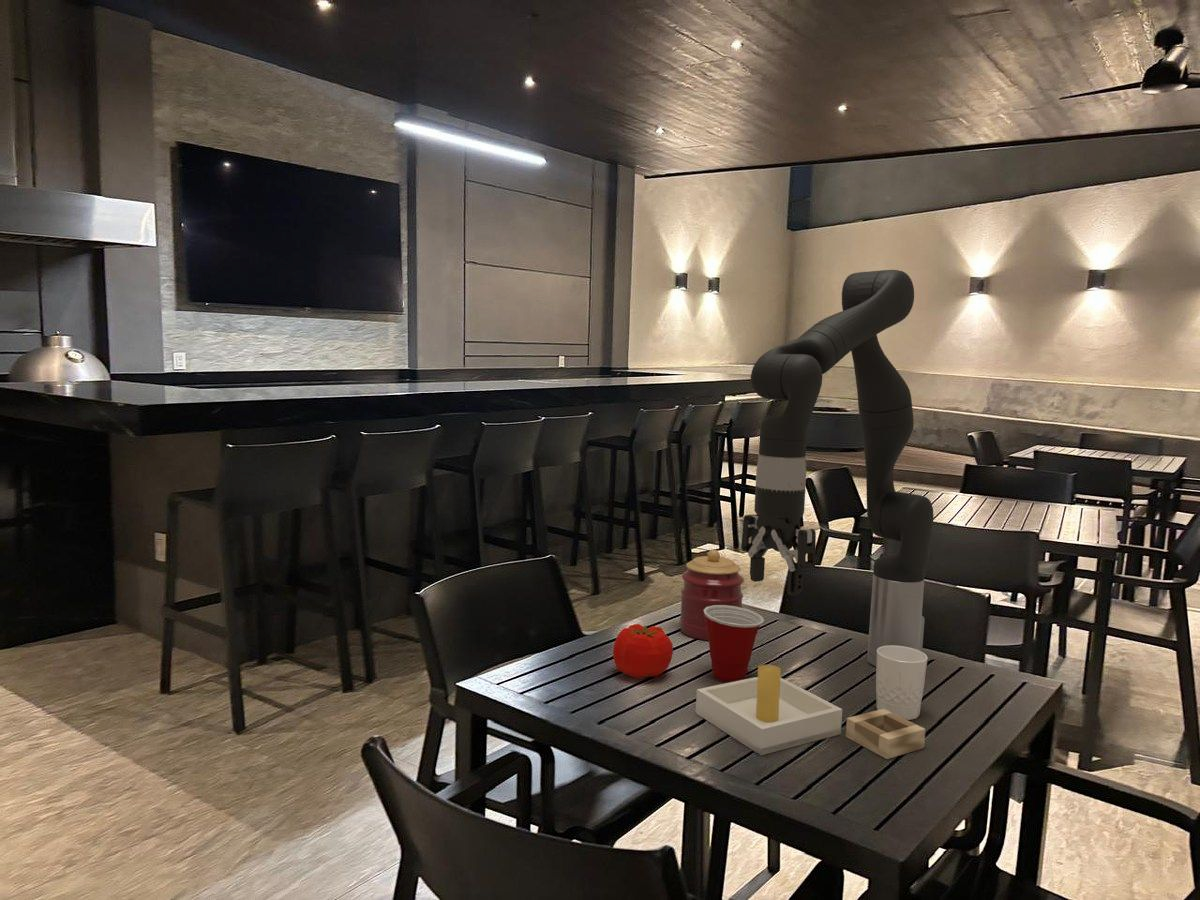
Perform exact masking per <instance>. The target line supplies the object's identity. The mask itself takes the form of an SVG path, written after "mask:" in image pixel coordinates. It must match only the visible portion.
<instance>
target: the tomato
mask: <svg viewBox="0 0 1200 900" xmlns="http://www.w3.org/2000/svg"><path fill="white" fill-rule="evenodd" d="M673 647H674V646H673V643H672V641H671V638H670V637H669V636H668V635H667V634H666V632H665V631H664V630H663V628H662V627H660V626H654V625H652V626H650V627H648V628H647V625H641V624H639V623H635V624H630V625H629V626H627V627H623V628H622V629H621V630H620V631H619V633H618V634H617V636H616V638H615V639H614V643H613V649H612V657H613V661H614V665H615V666H616V668H617V669H618V671H620V673H623V674H625V675H627V676H630V677H632V678H635V679H645V678H646V677H653V678H656V677H658V676H660V675H661V674H663V673H664V672H665V671H666V670H667V669H668V668H669V666H670V665H671V661H672V658H673V655H674V654H673V653H674V648H673Z"/></svg>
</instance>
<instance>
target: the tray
mask: <svg viewBox="0 0 1200 900" xmlns="http://www.w3.org/2000/svg"><path fill="white" fill-rule="evenodd" d="M757 684H758V676H755V677H750V678H745V679H744V680H740V681H735V682H725V683H721V684H715V685H711V686H707V687H706V686H705V687H702V688H697V689H696V698H695V699H696V701H695V704H696V705H695V714H697V715H698V716H699V717H700V718H702V719H704V720H705V721H707V722H708V723H710V724H711V725H713V726H715V727H716V728H718V729H719V730H721V731H723V733H726V734H727V735H729V736H730V737H731V738H733V739H735V740H736V741H738V742H739V743H741V744H743V745H744V746H745V747H747V748H749V749H750V750H752V751H753V752H755V753H757V755H759V756H764V755H767V754H772V753H776V752H779V751H782V750H786V749H790V748H794V747H797V746H801V745H804V744H809V743H812V742H816V741H820V740H824V739H828V738H831V737H834V736H835V737H836V736H838V735H839V736H840V735H841V734H842V721H843V708H841V707H839V706H837V705H835V704H833V703H831V702H829V701H827V700H825V699H824V698H822V697H819V696H817V695H815V694H814V693H811V692H809V691H808V690H806V689H804V688H801V687H800V686H799V685H796V684H794V683H792V682H790V681H788V680H786V679H784V678H782V677H781V679H780V698H779V717H778V720H777V721H776V722H763V721H760V720H758V719H757V718H756V704H757Z"/></svg>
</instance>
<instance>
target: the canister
mask: <svg viewBox="0 0 1200 900" xmlns="http://www.w3.org/2000/svg"><path fill="white" fill-rule="evenodd" d="M685 567H686V568H687V570H685V571H684V572H683V573H682V574H681V578H682V580H683V587H682V588H681V590H680V594H681V603H680V606H681V607H680V617H679V626H680V631H681V632H682V633H683V634H684V635H687V636H689V637H691V638H694V639H697V640H702V641H709V638H708V629H707V622H706V616H705V614H704V609H705V608H706V607H709V606H713V605H727V606H735V607H740V608H743V606H742V604H743V597H744V593H743V592H742V585H743V583H744V581H745V579H744V577H743V576H742V575H741V574H740V573H739V572H740V571H741V566H739V565H738V564H737V563H735V562H734V560H732V559H731V558H730V559H729V558H727V557H723V556H721V554H720V552H719V550H717V549H711V550H709V551H708V553H707V555H704V556H702V555H701V556H697V557H694V558H693V559H692V560H689V562H686V566H685Z"/></svg>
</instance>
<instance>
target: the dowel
mask: <svg viewBox="0 0 1200 900" xmlns="http://www.w3.org/2000/svg"><path fill="white" fill-rule="evenodd" d="M757 677H758V684H757V704H756V718H757V719H758V720H760V721H763V722H776V721H777V720H778V717H779V698H780V679H781V678H782V669H781V668H780V667H779V666H776V665H773V664H762V665H761V664H760V665H759V666H758V668H757Z"/></svg>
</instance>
